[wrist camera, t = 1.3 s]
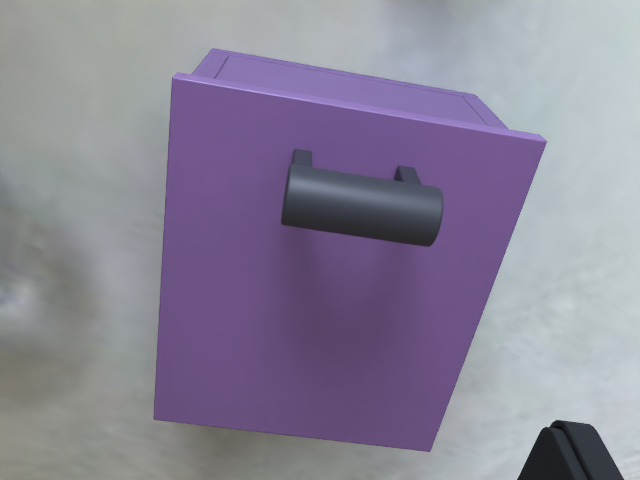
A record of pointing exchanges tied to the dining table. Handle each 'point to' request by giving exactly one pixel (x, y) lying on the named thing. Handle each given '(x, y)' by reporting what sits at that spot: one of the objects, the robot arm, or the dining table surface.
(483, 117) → the file box
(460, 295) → the lid
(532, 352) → the dining table surface
